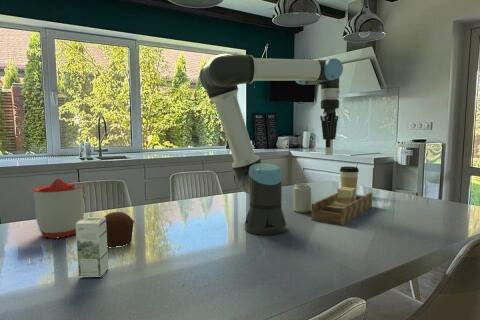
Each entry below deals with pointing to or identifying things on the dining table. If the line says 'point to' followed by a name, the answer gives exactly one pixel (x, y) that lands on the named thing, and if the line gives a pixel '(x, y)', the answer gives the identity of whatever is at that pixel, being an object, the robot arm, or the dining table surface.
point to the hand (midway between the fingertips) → (329, 154)
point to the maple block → (346, 195)
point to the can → (302, 198)
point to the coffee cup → (349, 176)
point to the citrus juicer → (58, 208)
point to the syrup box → (92, 246)
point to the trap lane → (340, 209)
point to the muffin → (118, 229)
